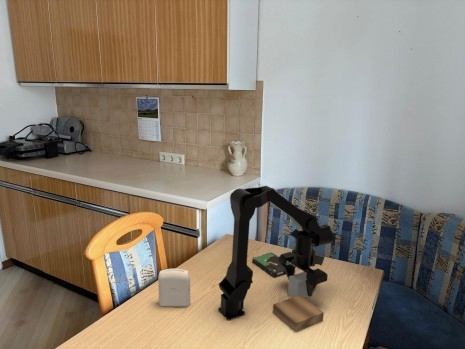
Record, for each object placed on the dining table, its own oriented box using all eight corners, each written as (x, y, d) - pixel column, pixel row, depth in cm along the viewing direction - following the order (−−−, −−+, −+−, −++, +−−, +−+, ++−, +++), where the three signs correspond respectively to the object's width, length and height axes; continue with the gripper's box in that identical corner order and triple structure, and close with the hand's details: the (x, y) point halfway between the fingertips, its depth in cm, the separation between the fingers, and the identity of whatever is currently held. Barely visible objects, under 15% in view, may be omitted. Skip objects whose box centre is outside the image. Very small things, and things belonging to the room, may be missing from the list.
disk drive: (294, 273, 140) (271, 257, 152) (295, 266, 139) (271, 251, 151) (274, 279, 134) (251, 263, 147) (274, 273, 134) (251, 257, 146)
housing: (296, 301, 120) (297, 282, 118) (287, 294, 124) (289, 276, 122) (311, 295, 124) (313, 277, 122) (303, 289, 127) (304, 271, 126)
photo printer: (157, 307, 115) (156, 272, 112) (160, 299, 119) (159, 265, 116) (189, 308, 115) (189, 273, 112) (191, 300, 119) (191, 266, 116)
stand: (295, 332, 104) (296, 323, 104) (272, 312, 113) (273, 304, 113) (322, 320, 110) (323, 312, 109) (299, 302, 119) (299, 294, 118)
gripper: (341, 253, 116) (337, 296, 119) (302, 234, 131) (299, 272, 135) (316, 261, 110) (312, 306, 114) (278, 239, 126) (276, 279, 129)
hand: (300, 289), depth 123 cm, fingers open, 9 cm apart
